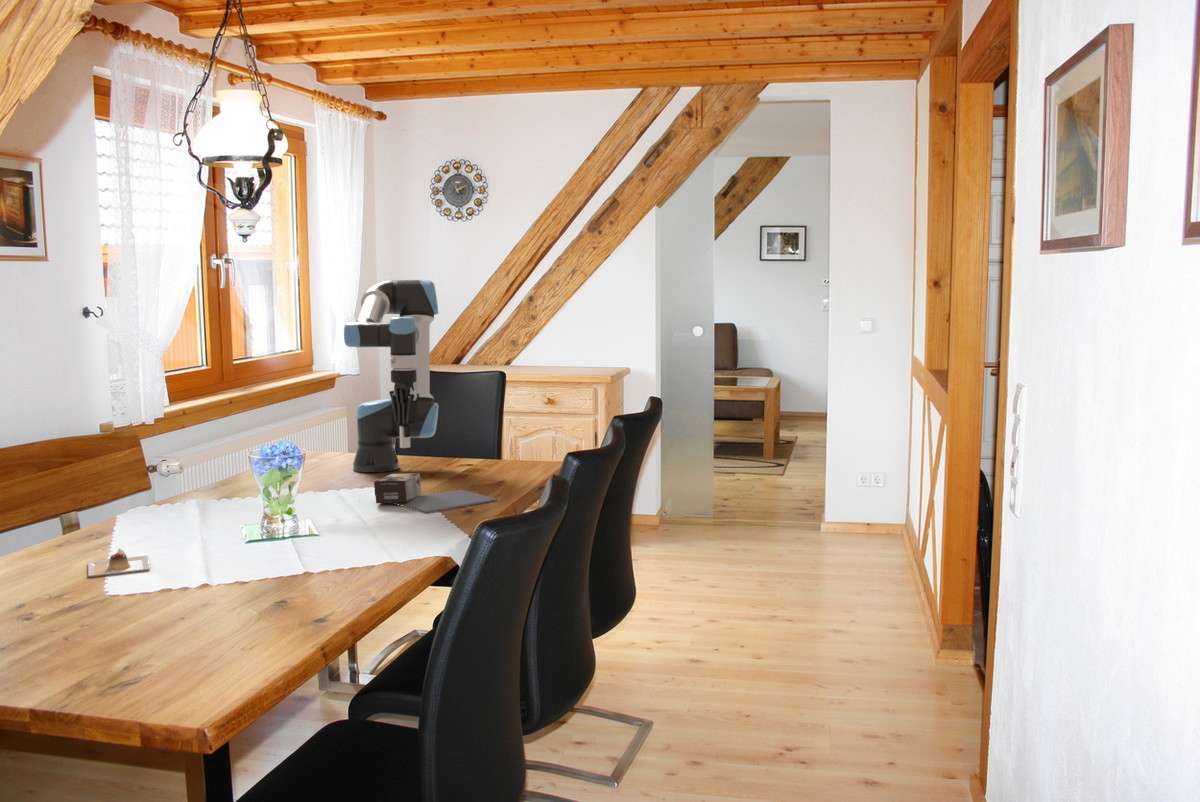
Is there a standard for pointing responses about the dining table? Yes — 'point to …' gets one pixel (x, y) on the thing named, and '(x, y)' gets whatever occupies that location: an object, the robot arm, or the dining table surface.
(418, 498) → the mat
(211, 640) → the dining table surface
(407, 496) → the coffee box
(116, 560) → the dessert
